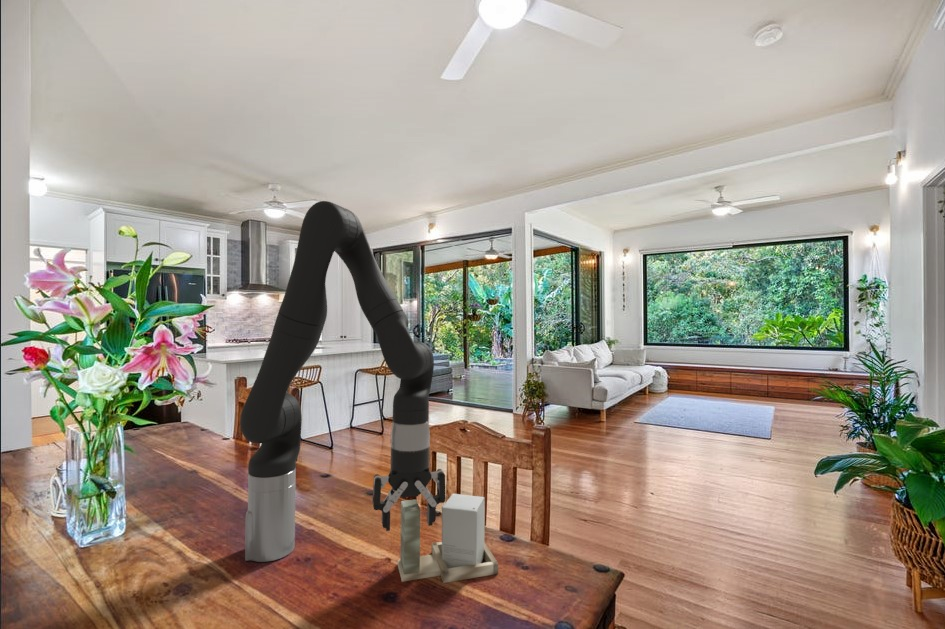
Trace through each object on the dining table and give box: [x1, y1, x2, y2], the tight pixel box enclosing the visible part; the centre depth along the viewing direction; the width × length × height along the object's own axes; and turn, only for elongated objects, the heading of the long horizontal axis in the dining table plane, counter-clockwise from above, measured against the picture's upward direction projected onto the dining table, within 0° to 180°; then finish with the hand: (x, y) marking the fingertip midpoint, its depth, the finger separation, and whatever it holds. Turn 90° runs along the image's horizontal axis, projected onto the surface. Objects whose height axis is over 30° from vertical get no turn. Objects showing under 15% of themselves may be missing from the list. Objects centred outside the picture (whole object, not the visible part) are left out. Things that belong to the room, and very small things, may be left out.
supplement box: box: [441, 493, 486, 569], centre depth 90 cm, size 7×7×13 cm
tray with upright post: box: [397, 499, 499, 584], centre depth 89 cm, size 18×11×13 cm, turn 107°
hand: (408, 526), depth 87 cm, fingers open, 8 cm apart
